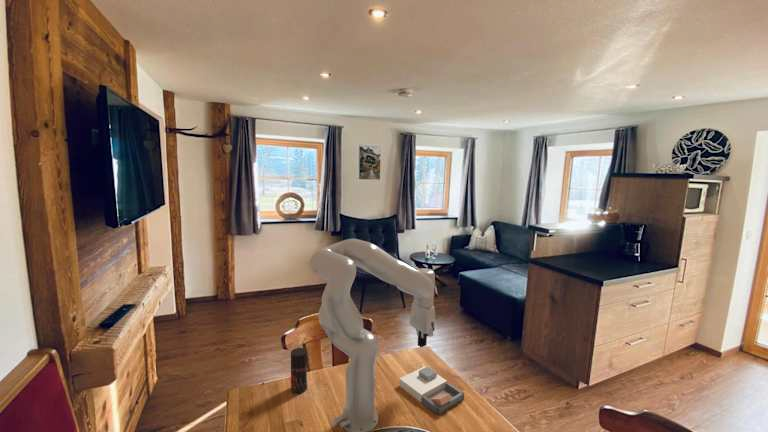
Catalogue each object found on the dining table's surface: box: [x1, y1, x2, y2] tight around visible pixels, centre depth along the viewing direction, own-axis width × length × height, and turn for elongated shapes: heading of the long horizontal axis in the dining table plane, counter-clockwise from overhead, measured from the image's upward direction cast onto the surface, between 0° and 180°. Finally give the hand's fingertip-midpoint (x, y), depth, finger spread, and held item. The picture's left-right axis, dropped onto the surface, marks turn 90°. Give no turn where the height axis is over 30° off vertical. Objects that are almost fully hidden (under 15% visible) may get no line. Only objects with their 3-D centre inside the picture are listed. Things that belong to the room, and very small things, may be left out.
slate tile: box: [419, 366, 438, 381], centre depth 134 cm, size 5×5×2 cm
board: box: [398, 365, 448, 403], centre depth 132 cm, size 14×12×3 cm
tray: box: [421, 381, 465, 416], centre depth 124 cm, size 14×8×2 cm, turn 129°
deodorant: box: [290, 347, 308, 395], centre depth 127 cm, size 6×6×15 cm
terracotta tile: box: [431, 394, 451, 405], centre depth 121 cm, size 5×5×2 cm
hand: (421, 345), depth 133 cm, fingers closed
